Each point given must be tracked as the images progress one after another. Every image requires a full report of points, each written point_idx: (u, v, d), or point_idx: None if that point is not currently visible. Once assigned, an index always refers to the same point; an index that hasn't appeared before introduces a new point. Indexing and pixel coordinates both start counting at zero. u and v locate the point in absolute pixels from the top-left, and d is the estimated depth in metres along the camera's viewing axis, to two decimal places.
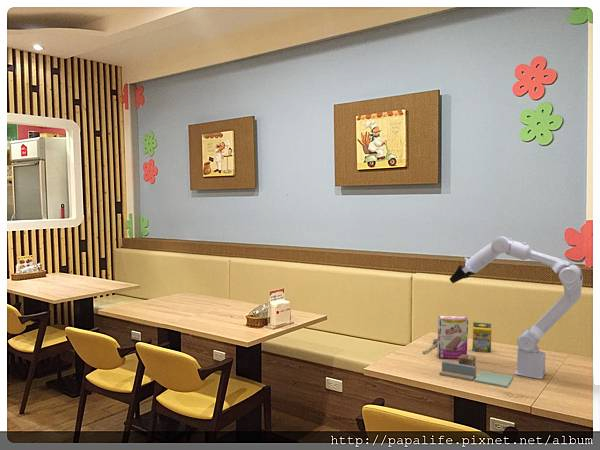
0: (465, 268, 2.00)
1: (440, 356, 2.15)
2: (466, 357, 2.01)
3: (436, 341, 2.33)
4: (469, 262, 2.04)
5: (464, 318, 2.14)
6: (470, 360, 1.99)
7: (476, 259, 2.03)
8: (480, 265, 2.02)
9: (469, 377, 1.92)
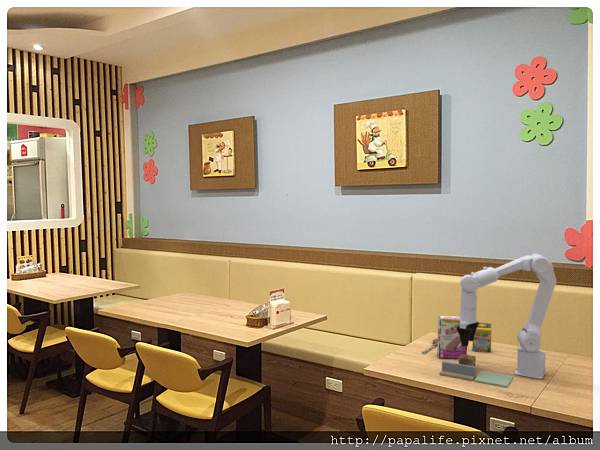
0: (461, 324, 1.95)
1: (440, 356, 2.15)
2: (466, 357, 2.01)
3: (435, 341, 2.33)
4: (462, 318, 2.00)
5: None
6: (470, 360, 1.99)
7: (463, 311, 1.99)
8: (471, 312, 1.98)
9: (469, 377, 1.92)
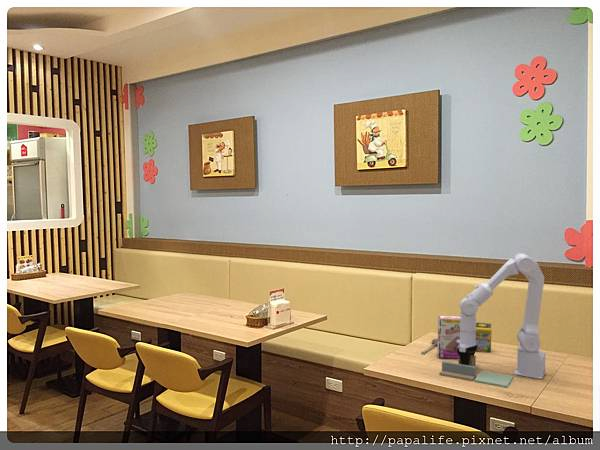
0: (461, 348, 1.96)
1: (440, 356, 2.15)
2: None
3: (435, 341, 2.33)
4: (461, 341, 2.00)
5: None
6: (470, 360, 1.99)
7: (463, 334, 1.99)
8: (470, 335, 1.98)
9: (469, 377, 1.92)
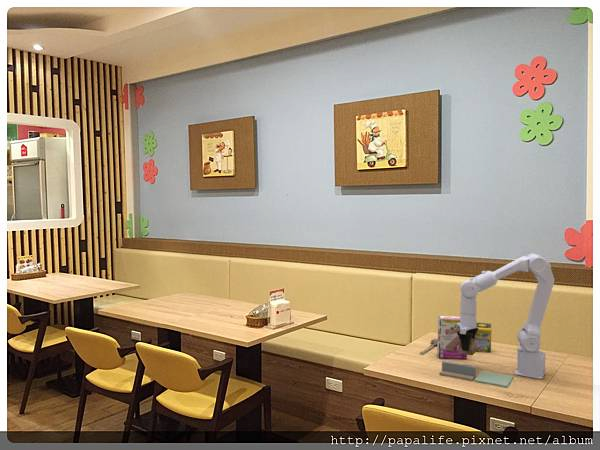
0: (461, 330, 1.95)
1: (440, 356, 2.15)
2: None
3: (434, 342, 2.32)
4: (462, 323, 2.00)
5: None
6: (470, 342, 1.98)
7: (463, 316, 1.99)
8: (471, 318, 1.98)
9: (469, 377, 1.92)
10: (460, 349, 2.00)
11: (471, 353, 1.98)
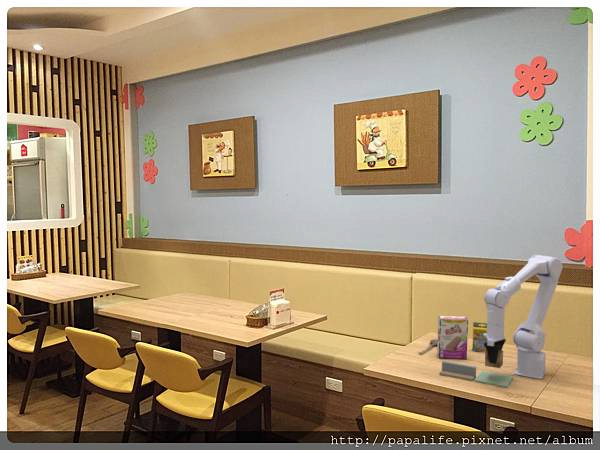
0: (489, 342, 1.85)
1: (440, 356, 2.15)
2: None
3: (433, 342, 2.32)
4: (489, 334, 1.89)
5: (464, 318, 2.14)
6: (498, 354, 1.88)
7: (491, 327, 1.89)
8: (499, 329, 1.88)
9: (469, 377, 1.92)
10: (486, 361, 1.90)
11: (498, 366, 1.88)
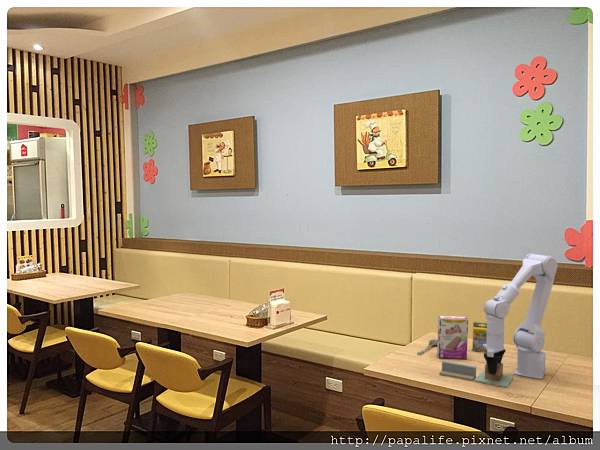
0: (489, 353, 1.85)
1: (440, 356, 2.15)
2: None
3: (432, 342, 2.32)
4: (488, 345, 1.90)
5: (464, 318, 2.14)
6: (497, 368, 1.88)
7: (490, 338, 1.89)
8: (498, 339, 1.88)
9: (469, 377, 1.92)
10: (486, 374, 1.91)
11: (498, 379, 1.88)
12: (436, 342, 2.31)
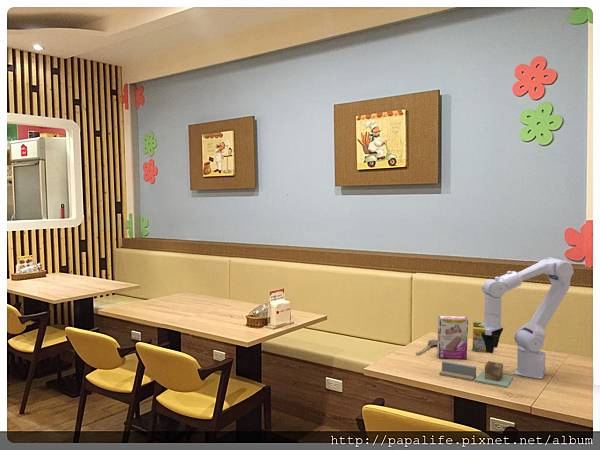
0: (487, 331, 1.89)
1: (440, 356, 2.15)
2: (493, 364, 1.91)
3: (431, 342, 2.31)
4: (486, 324, 1.94)
5: (464, 318, 2.14)
6: (497, 368, 1.88)
7: (488, 317, 1.93)
8: (496, 318, 1.92)
9: (469, 377, 1.92)
10: (486, 374, 1.91)
11: (498, 379, 1.88)
12: (435, 342, 2.31)
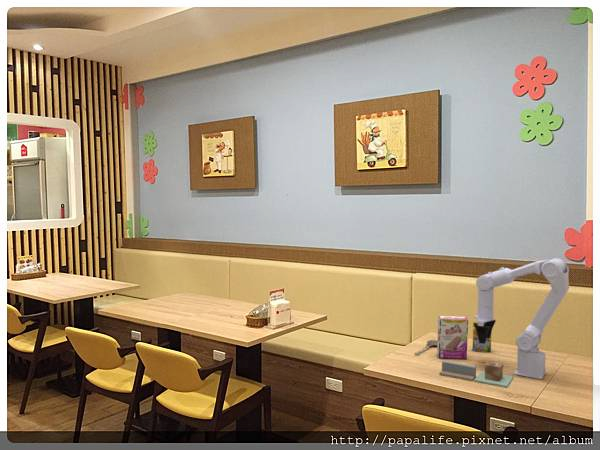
0: (479, 322, 2.01)
1: (440, 356, 2.15)
2: (493, 364, 1.91)
3: (430, 343, 2.31)
4: (479, 316, 2.06)
5: (464, 318, 2.14)
6: (497, 368, 1.88)
7: (481, 309, 2.05)
8: (488, 310, 2.04)
9: (469, 377, 1.92)
10: (486, 374, 1.91)
11: (498, 379, 1.88)
12: (434, 342, 2.31)
